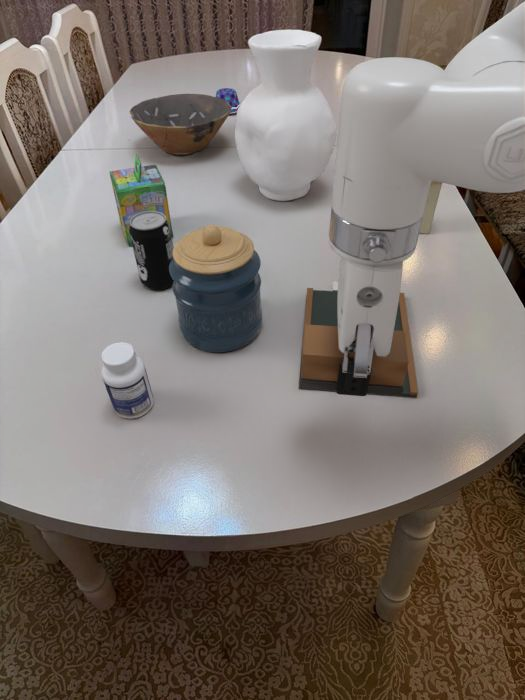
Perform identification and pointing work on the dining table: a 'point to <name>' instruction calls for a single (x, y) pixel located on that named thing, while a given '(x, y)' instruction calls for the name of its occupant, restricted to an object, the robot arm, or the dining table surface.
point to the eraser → (326, 357)
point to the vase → (284, 117)
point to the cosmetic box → (430, 207)
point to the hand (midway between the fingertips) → (351, 372)
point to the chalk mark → (335, 286)
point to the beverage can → (152, 248)
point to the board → (325, 313)
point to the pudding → (229, 97)
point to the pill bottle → (126, 380)
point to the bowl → (181, 121)
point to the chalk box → (139, 193)
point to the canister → (217, 288)
